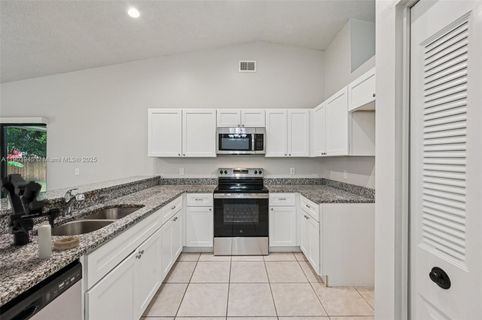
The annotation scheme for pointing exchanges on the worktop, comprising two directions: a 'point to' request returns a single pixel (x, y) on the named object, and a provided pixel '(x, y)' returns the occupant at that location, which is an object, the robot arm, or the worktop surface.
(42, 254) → the dowel
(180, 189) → the worktop surface
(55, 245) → the tan open ring
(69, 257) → the worktop surface
